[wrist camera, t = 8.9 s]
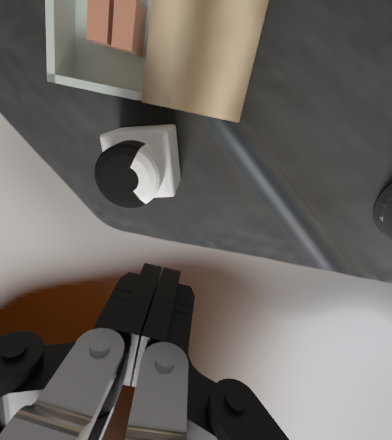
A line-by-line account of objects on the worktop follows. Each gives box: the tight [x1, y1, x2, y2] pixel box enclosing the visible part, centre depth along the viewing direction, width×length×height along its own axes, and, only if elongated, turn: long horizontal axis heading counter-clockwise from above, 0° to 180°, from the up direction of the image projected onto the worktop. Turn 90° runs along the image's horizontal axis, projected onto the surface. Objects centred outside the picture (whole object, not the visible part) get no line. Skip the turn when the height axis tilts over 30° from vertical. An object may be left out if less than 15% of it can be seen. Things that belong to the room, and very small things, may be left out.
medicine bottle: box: [95, 124, 181, 208], centre depth 30 cm, size 7×7×12 cm
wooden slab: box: [141, 0, 269, 123], centre depth 29 cm, size 11×14×3 cm
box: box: [45, 0, 152, 100], centre depth 28 cm, size 9×14×5 cm
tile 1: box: [111, 0, 147, 57], centre depth 28 cm, size 4×4×2 cm
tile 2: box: [86, 0, 118, 50], centre depth 28 cm, size 4×4×2 cm
